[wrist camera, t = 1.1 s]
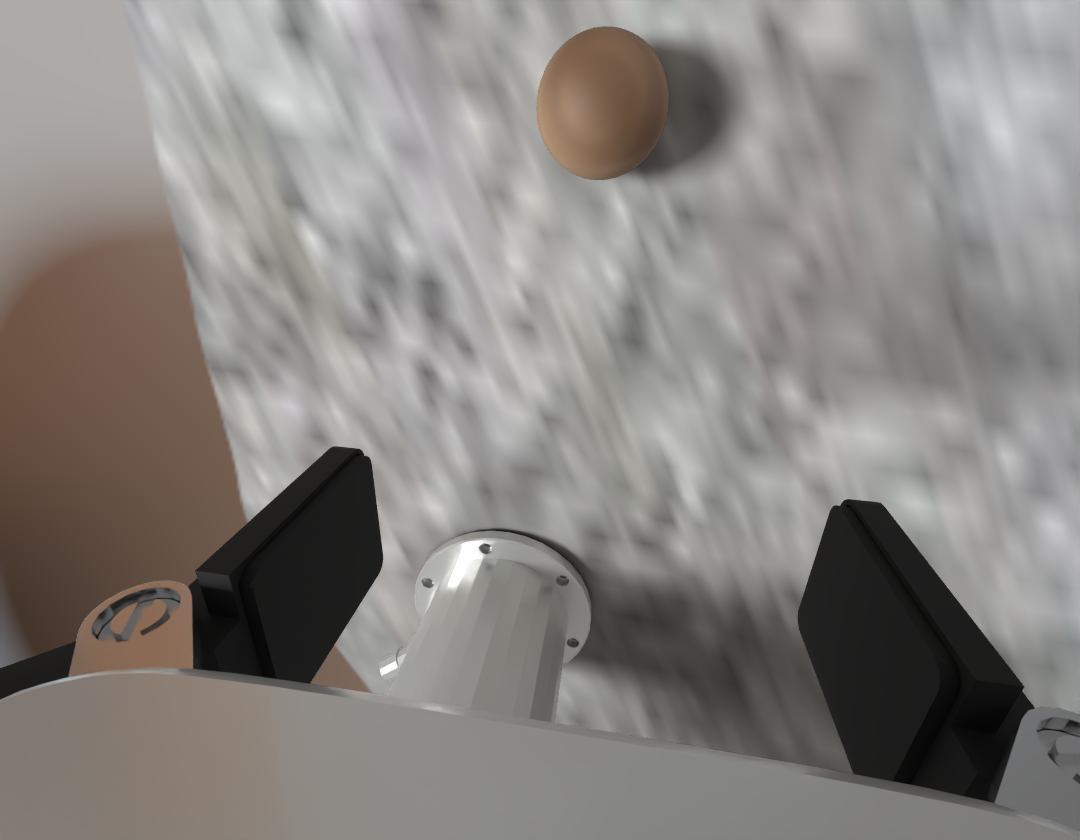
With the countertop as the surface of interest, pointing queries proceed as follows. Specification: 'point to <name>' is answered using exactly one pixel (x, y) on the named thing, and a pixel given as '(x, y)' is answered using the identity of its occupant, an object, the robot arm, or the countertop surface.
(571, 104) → the brown egg
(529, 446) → the countertop surface
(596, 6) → the countertop surface
